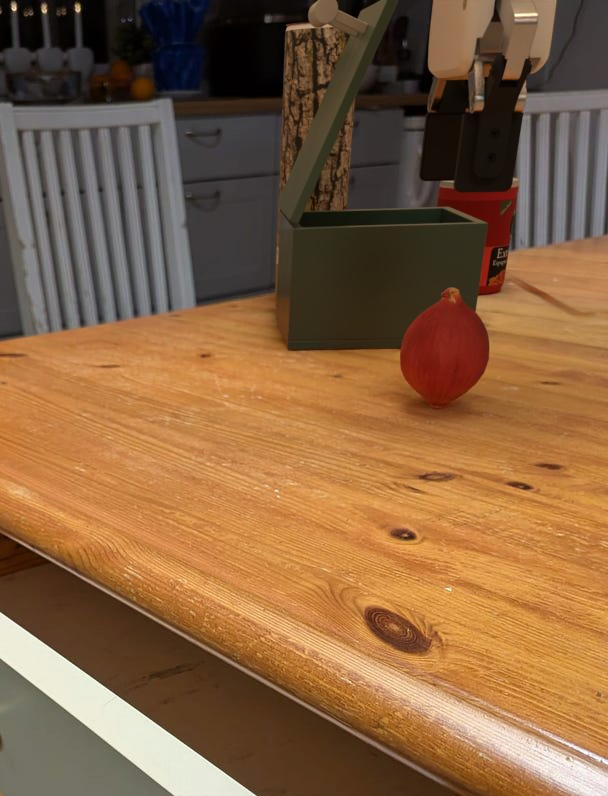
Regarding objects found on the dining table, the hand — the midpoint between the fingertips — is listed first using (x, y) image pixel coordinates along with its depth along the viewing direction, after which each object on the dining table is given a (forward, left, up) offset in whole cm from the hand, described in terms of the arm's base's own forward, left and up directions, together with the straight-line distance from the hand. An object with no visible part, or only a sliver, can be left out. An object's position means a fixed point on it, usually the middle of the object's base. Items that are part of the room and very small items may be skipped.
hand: (461, 185), depth 60 cm
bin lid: (+5, -25, +4) cm, 26 cm away
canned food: (-13, -46, -14) cm, 50 cm away
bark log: (+5, -39, -14) cm, 42 cm away
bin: (+1, -25, -14) cm, 29 cm away
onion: (0, 0, -14) cm, 14 cm away
